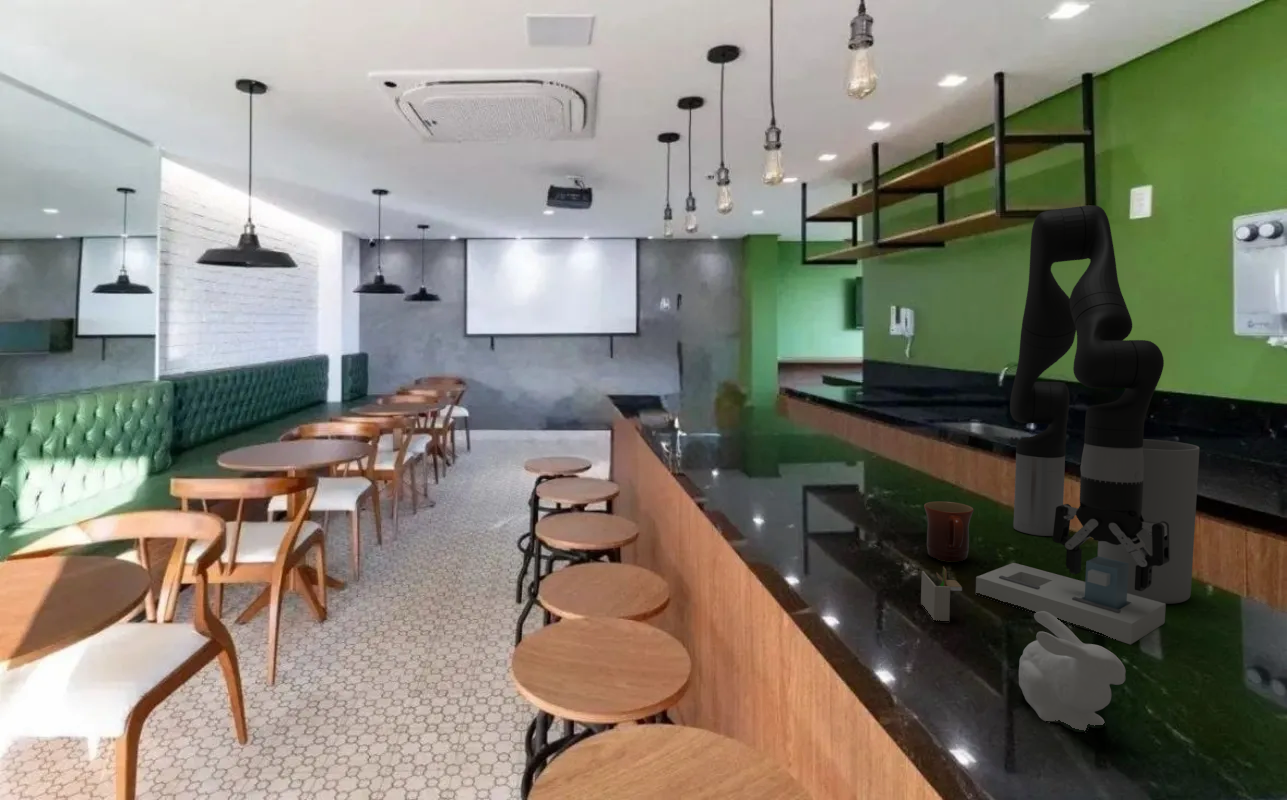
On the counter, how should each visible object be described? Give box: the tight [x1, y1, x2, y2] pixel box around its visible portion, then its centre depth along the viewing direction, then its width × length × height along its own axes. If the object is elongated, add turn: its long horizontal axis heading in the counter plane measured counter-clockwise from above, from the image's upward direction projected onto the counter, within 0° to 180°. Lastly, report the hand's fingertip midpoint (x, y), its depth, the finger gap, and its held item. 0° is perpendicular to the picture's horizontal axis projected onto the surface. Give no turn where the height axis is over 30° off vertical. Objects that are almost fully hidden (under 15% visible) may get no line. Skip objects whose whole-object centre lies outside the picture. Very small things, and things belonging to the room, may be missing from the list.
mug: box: [923, 501, 975, 562], centre depth 123 cm, size 12×9×10 cm
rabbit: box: [1018, 611, 1127, 731], centre depth 73 cm, size 12×9×12 cm
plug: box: [1084, 555, 1129, 609], centre depth 96 cm, size 5×4×9 cm
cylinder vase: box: [1097, 438, 1200, 605], centre depth 106 cm, size 12×12×25 cm
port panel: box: [975, 562, 1167, 645], centre depth 101 cm, size 12×22×3 cm, turn 33°
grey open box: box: [920, 566, 963, 622], centre depth 100 cm, size 4×7×8 cm, turn 172°
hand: (1106, 580), depth 96 cm, fingers open, 8 cm apart
